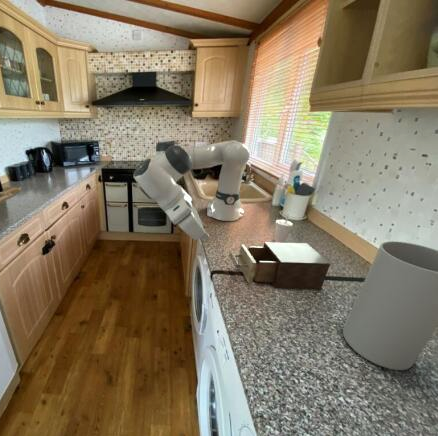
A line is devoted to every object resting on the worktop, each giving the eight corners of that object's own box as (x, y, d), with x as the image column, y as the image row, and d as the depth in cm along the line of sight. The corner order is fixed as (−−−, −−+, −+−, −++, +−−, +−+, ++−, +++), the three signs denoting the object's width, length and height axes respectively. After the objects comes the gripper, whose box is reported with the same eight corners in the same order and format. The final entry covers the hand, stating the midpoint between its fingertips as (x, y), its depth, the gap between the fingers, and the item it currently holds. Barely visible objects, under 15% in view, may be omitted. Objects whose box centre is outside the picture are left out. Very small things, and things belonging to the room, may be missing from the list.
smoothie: (289, 247, 101) (298, 216, 95) (273, 245, 102) (280, 215, 97) (284, 240, 107) (292, 210, 101) (269, 238, 108) (276, 209, 102)
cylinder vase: (329, 327, 63) (364, 242, 53) (373, 324, 64) (415, 240, 54) (375, 374, 51) (431, 277, 41) (427, 369, 52) (494, 274, 43)
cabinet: (274, 287, 77) (281, 262, 73) (259, 265, 89) (264, 242, 85) (321, 289, 77) (330, 263, 73) (299, 266, 88) (306, 243, 84)
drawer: (234, 282, 78) (238, 262, 74) (225, 262, 88) (228, 244, 85) (291, 284, 77) (297, 264, 74) (275, 264, 88) (279, 245, 84)
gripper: (168, 199, 84) (194, 226, 88) (171, 224, 66) (203, 256, 69) (182, 187, 82) (207, 215, 86) (189, 209, 64) (221, 242, 67)
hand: (206, 233), depth 77 cm, fingers open, 7 cm apart
